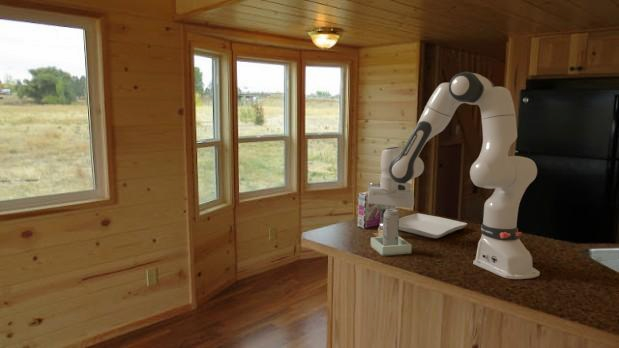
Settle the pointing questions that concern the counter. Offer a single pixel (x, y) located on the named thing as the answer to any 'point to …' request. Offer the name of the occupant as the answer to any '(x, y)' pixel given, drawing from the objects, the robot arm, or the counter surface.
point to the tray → (391, 247)
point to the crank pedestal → (379, 233)
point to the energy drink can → (390, 227)
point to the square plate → (429, 225)
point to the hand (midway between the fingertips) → (390, 215)
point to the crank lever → (382, 218)
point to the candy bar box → (367, 212)
